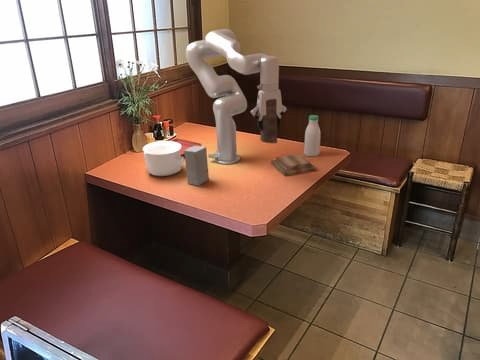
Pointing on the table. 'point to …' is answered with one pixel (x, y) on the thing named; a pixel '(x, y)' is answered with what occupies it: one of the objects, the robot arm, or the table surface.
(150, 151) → the pot
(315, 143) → the milk bottle
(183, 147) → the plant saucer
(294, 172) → the plinth
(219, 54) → the robot arm
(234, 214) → the table surface
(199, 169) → the skincare box
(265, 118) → the dark brown rough cylinder
